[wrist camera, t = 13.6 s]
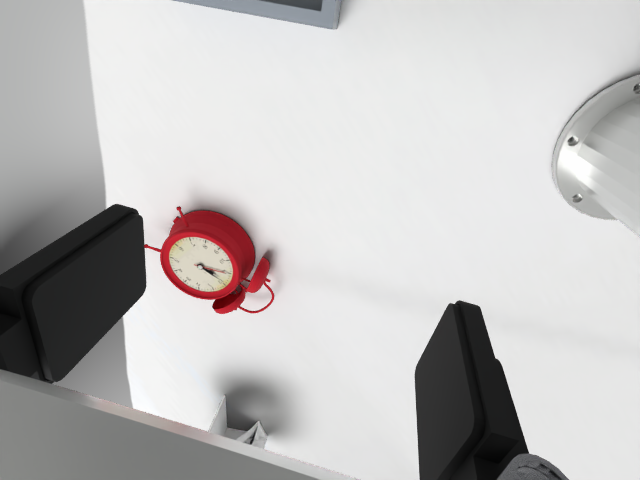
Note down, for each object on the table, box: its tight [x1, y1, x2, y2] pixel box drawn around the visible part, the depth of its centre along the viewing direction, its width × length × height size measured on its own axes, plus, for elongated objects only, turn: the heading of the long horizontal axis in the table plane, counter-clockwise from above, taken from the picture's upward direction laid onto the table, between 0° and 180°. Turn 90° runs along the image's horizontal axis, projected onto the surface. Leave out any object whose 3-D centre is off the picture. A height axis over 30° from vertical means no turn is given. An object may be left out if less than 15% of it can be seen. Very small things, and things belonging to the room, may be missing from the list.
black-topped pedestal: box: [208, 395, 268, 449], centre depth 54 cm, size 28×26×13 cm
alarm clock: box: [144, 206, 274, 314], centre depth 43 cm, size 10×6×15 cm
